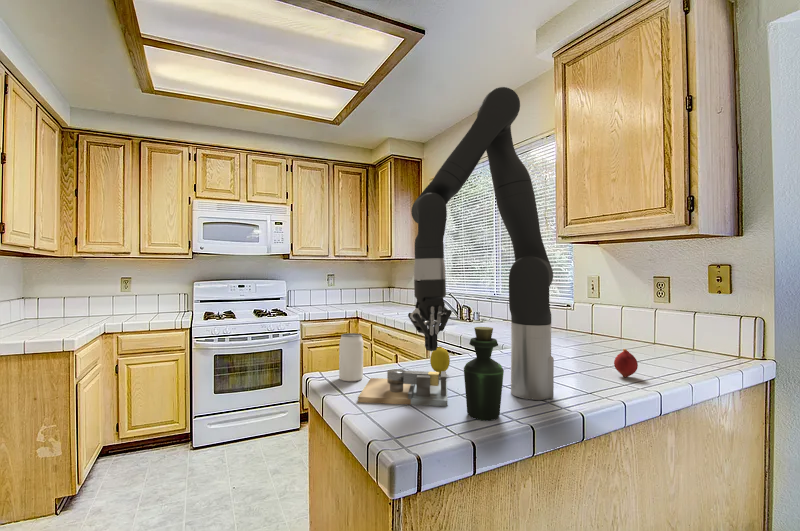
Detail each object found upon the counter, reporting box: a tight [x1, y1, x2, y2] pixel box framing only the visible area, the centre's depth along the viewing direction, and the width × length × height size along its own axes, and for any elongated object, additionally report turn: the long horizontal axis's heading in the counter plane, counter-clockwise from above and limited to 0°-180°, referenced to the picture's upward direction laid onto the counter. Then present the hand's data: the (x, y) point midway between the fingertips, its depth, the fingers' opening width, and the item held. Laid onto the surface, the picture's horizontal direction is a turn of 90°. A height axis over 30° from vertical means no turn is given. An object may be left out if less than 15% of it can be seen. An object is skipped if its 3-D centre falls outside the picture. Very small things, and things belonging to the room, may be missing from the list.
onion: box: [613, 348, 639, 378], centre depth 116 cm, size 6×6×8 cm
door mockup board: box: [357, 370, 448, 407], centre depth 100 cm, size 20×16×6 cm
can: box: [338, 332, 364, 383], centre depth 112 cm, size 6×6×12 cm
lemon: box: [429, 345, 451, 375], centre depth 118 cm, size 6×6×8 cm
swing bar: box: [386, 368, 440, 386], centre depth 97 cm, size 12×4×3 cm, turn 81°
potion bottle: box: [463, 326, 505, 422], centre depth 85 cm, size 8×8×18 cm
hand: (431, 350), depth 98 cm, fingers closed
